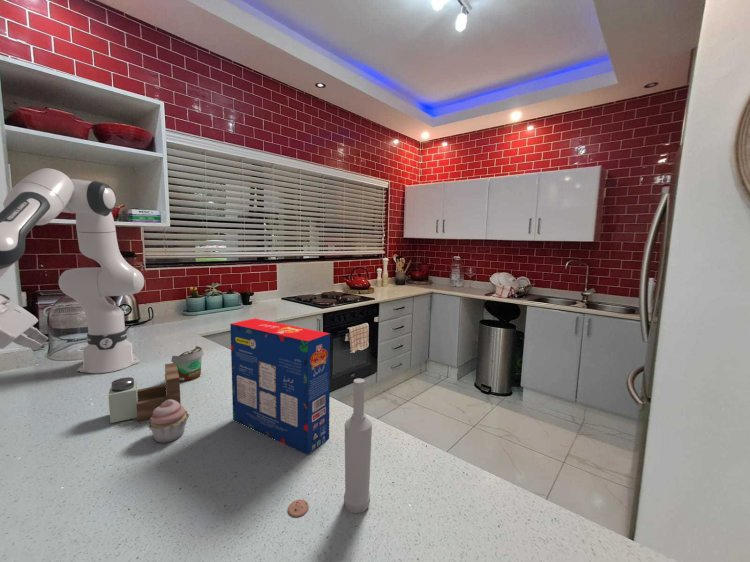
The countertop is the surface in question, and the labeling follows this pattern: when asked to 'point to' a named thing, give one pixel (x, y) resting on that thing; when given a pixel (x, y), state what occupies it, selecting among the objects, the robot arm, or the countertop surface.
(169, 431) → the cupcake
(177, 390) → the walnut mount
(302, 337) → the pasta box
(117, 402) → the sliding knob
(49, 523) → the countertop surface
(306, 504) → the cookie
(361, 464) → the bottle
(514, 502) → the countertop surface
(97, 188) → the robot arm
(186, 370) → the food container
